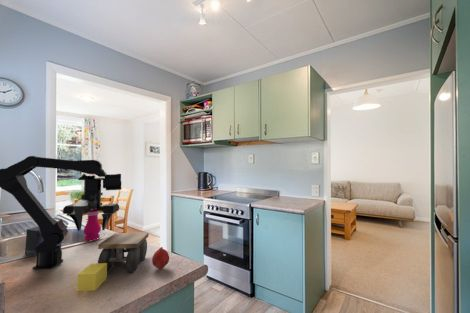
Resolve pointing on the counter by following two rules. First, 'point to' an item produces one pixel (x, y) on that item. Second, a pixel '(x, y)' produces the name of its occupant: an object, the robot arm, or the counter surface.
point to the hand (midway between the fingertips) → (91, 230)
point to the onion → (160, 258)
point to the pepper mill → (92, 226)
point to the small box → (33, 240)
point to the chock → (92, 277)
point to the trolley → (123, 250)
